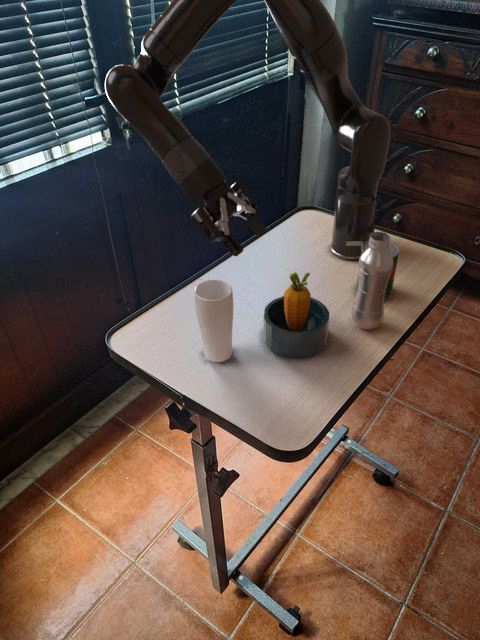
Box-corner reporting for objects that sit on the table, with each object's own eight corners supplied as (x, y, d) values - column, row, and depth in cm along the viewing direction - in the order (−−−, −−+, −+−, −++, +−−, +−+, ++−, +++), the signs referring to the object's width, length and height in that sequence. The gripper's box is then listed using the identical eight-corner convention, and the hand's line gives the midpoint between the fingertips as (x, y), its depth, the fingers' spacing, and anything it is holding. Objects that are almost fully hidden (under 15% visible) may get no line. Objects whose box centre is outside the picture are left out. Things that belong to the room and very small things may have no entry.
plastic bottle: (371, 311, 110) (385, 225, 97) (388, 329, 105) (405, 241, 92) (344, 317, 108) (355, 231, 95) (360, 336, 103) (374, 248, 90)
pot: (302, 311, 110) (304, 288, 106) (339, 344, 102) (342, 319, 98) (252, 331, 105) (251, 307, 101) (286, 366, 97) (287, 342, 93)
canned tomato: (398, 296, 114) (407, 252, 107) (369, 305, 111) (376, 261, 104) (376, 278, 120) (384, 236, 112) (348, 287, 117) (354, 244, 110)
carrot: (308, 329, 105) (312, 265, 95) (307, 345, 101) (311, 280, 91) (283, 328, 105) (285, 264, 95) (282, 343, 101) (283, 279, 92)
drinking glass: (204, 369, 96) (197, 303, 87) (197, 346, 101) (190, 282, 92) (239, 362, 98) (237, 297, 88) (231, 340, 103) (227, 276, 93)
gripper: (181, 172, 84) (244, 251, 87) (227, 145, 94) (282, 217, 97) (159, 197, 89) (219, 270, 93) (204, 169, 99) (257, 236, 102)
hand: (251, 243), depth 95 cm, fingers open, 8 cm apart
